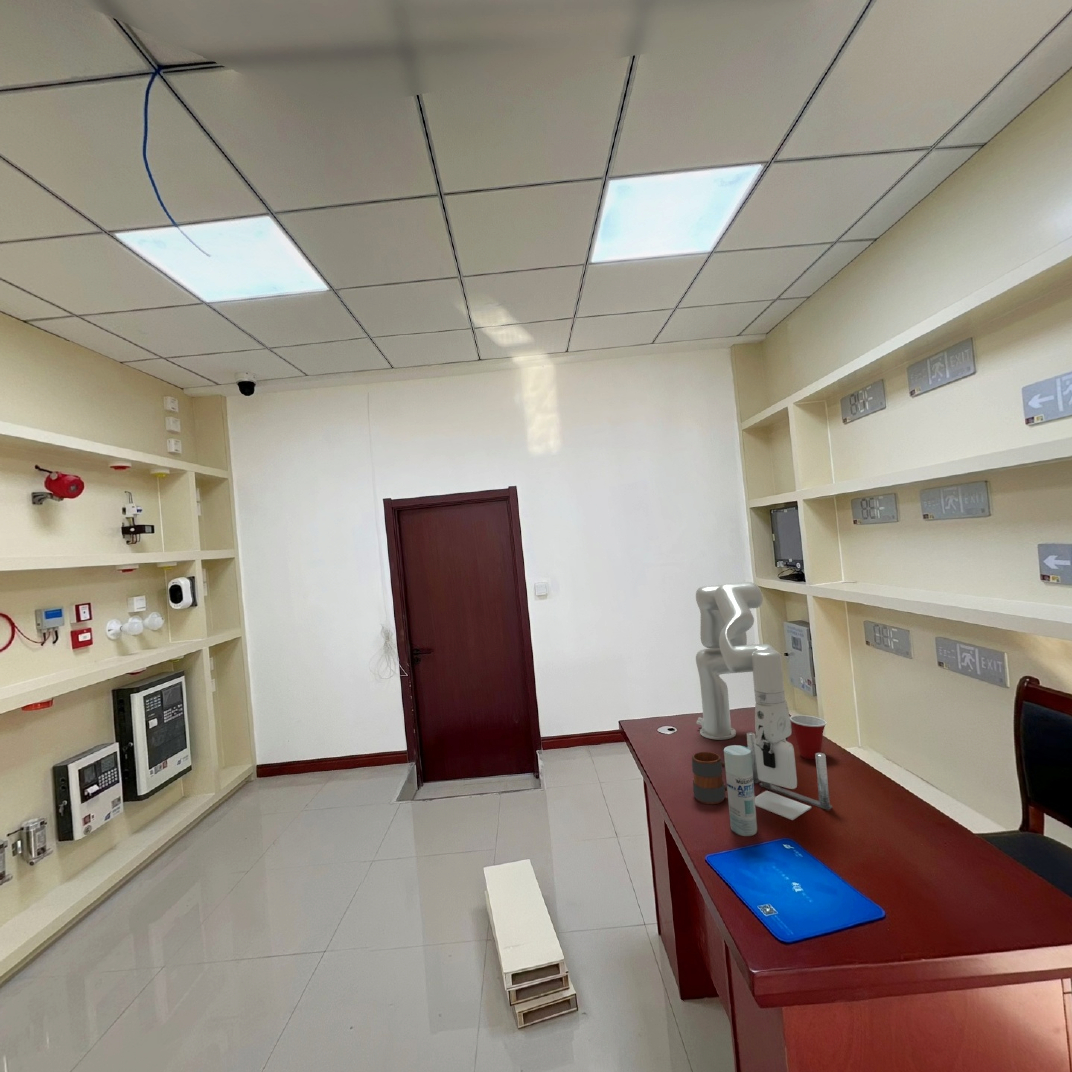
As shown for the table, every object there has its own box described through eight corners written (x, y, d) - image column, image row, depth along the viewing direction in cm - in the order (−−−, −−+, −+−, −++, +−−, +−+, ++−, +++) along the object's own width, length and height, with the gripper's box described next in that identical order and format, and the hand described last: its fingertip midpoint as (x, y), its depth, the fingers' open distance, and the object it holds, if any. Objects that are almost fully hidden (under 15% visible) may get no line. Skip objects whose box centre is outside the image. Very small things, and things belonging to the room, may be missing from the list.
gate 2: (759, 786, 160) (755, 738, 160) (764, 783, 161) (760, 736, 161) (828, 810, 143) (823, 757, 144) (832, 807, 145) (828, 754, 145)
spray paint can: (744, 820, 142) (738, 743, 142) (763, 832, 136) (756, 751, 136) (724, 827, 139) (718, 748, 140) (742, 839, 133) (735, 757, 134)
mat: (747, 802, 151) (747, 801, 151) (766, 791, 156) (766, 790, 156) (792, 820, 140) (792, 818, 140) (811, 808, 145) (811, 806, 145)
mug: (741, 804, 150) (737, 762, 150) (696, 805, 151) (692, 763, 152) (734, 790, 158) (730, 750, 159) (691, 791, 160) (688, 751, 160)
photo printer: (755, 780, 151) (751, 735, 151) (763, 775, 153) (759, 730, 154) (792, 791, 143) (788, 744, 143) (800, 785, 145) (796, 739, 146)
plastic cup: (837, 760, 172) (833, 722, 172) (804, 764, 172) (800, 726, 172) (817, 747, 183) (814, 712, 183) (786, 751, 183) (783, 715, 183)
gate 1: (747, 780, 164) (743, 733, 164) (779, 763, 174) (776, 719, 174) (756, 783, 162) (752, 736, 162) (788, 766, 171) (784, 721, 171)
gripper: (763, 706, 141) (769, 777, 140) (800, 692, 150) (805, 758, 150) (738, 700, 147) (744, 769, 146) (774, 687, 156) (780, 751, 156)
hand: (775, 763), depth 148 cm, fingers closed on photo printer, 4 cm apart
